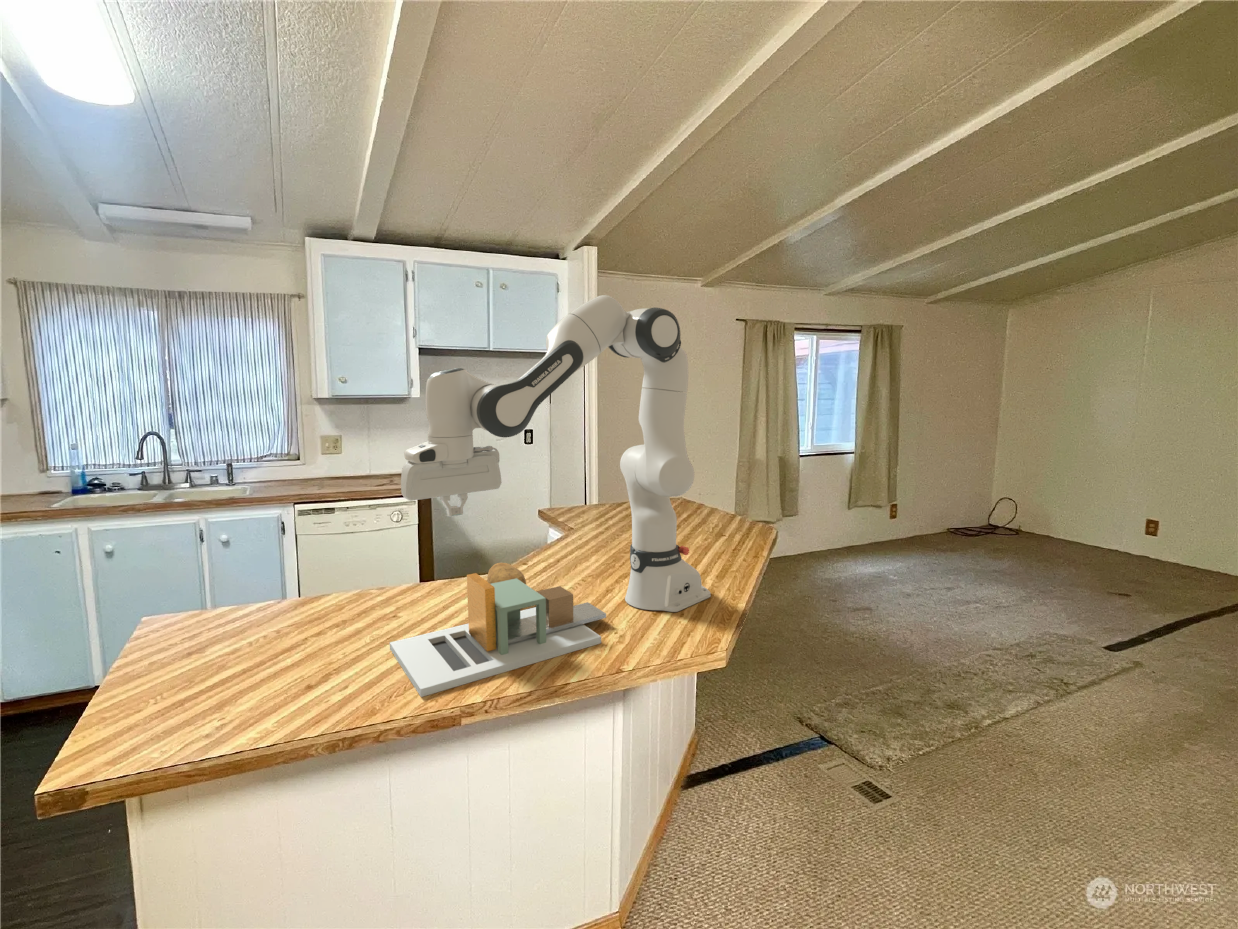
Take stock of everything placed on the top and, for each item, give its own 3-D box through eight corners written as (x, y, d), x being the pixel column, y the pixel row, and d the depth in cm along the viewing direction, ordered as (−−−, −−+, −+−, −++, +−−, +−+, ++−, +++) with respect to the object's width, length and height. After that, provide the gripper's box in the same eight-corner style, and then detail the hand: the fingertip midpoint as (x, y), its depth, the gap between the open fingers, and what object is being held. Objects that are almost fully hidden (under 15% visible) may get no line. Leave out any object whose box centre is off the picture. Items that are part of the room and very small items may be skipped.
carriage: (585, 604, 142) (585, 551, 140) (608, 619, 134) (608, 563, 132) (468, 634, 126) (466, 574, 124) (486, 652, 118) (484, 589, 116)
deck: (552, 609, 144) (552, 603, 144) (601, 643, 126) (601, 636, 126) (389, 649, 123) (389, 642, 123) (420, 697, 105) (420, 689, 105)
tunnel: (517, 619, 135) (516, 578, 133) (546, 642, 123) (545, 598, 122) (475, 629, 129) (473, 587, 128) (501, 655, 118) (500, 608, 116)
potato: (497, 610, 143) (496, 579, 142) (480, 591, 155) (479, 562, 154) (535, 603, 148) (534, 572, 147) (516, 585, 160) (515, 557, 159)
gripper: (492, 443, 129) (495, 505, 131) (396, 452, 117) (400, 519, 120) (505, 446, 124) (507, 510, 126) (405, 455, 112) (410, 526, 115)
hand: (454, 515), depth 123 cm, fingers closed
